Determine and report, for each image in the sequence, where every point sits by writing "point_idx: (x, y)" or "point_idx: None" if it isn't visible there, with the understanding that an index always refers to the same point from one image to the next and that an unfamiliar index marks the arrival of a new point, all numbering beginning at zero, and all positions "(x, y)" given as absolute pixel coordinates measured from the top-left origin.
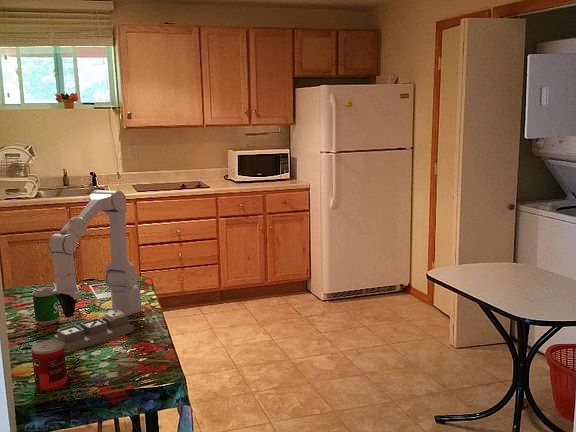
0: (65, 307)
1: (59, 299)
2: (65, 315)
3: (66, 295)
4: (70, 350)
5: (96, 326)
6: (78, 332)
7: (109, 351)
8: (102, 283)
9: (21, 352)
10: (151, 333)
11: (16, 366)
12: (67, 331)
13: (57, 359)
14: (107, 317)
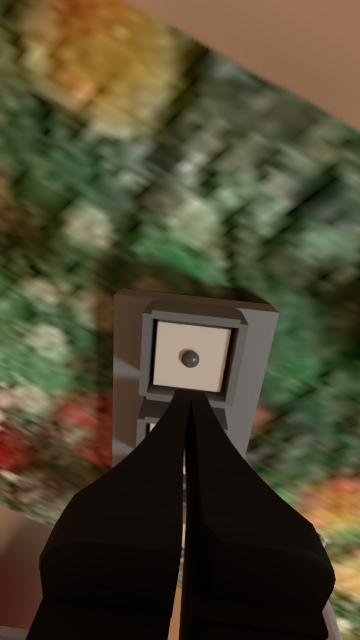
0: (144, 439)
1: (200, 502)
2: (187, 394)
3: (104, 616)
4: (120, 290)
5: (136, 442)
6: (141, 368)
7: (27, 371)
8: None
9: (301, 142)
10: (64, 505)
11: (169, 29)
12: (199, 348)
13: None
14: (183, 509)
